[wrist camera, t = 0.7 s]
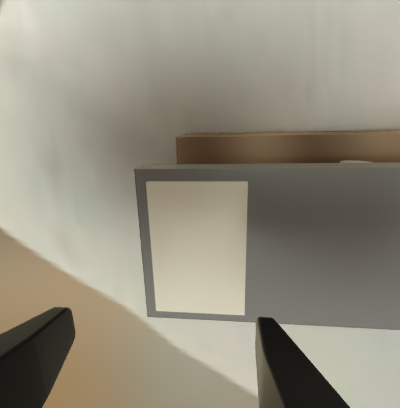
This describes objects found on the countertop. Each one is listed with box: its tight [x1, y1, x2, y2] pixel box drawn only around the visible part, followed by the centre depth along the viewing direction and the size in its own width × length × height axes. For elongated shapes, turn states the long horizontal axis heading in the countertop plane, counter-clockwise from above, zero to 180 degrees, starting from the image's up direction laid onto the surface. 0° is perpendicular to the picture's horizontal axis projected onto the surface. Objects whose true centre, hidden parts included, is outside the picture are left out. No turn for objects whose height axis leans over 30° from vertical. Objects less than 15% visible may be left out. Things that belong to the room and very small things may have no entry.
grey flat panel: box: [134, 160, 400, 330], centre depth 12 cm, size 18×7×2 cm, turn 92°
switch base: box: [176, 130, 400, 164], centre depth 16 cm, size 16×9×6 cm, turn 92°
